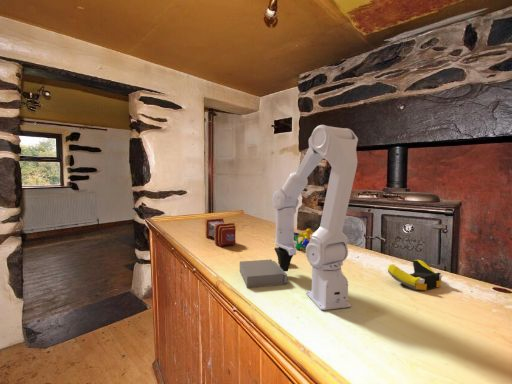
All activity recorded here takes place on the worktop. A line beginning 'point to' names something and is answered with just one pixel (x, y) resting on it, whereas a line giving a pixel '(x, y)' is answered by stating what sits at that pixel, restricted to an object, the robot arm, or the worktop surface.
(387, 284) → the worktop surface
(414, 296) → the worktop surface
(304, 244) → the decorative model
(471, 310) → the worktop surface
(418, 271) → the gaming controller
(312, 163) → the robot arm
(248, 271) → the box
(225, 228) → the lantern
